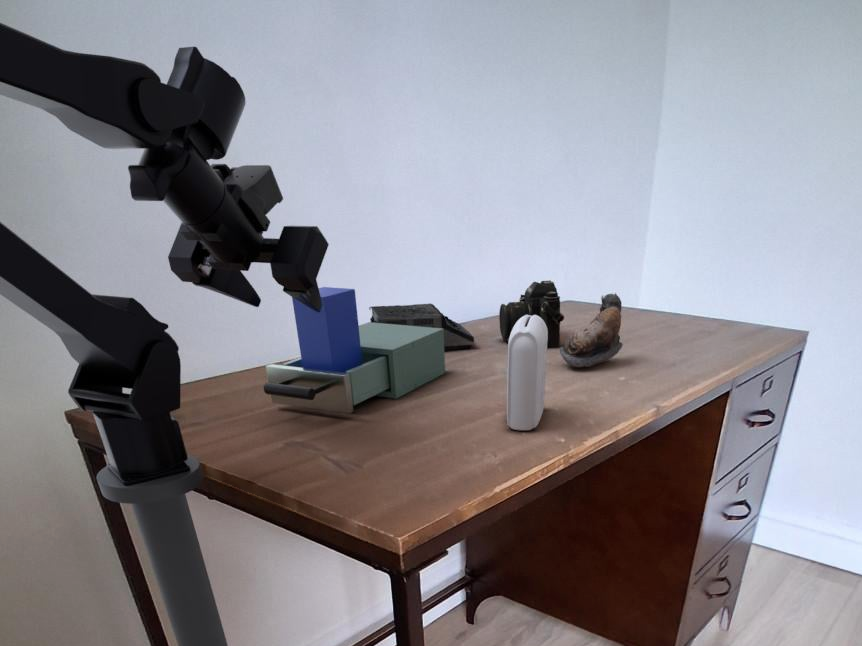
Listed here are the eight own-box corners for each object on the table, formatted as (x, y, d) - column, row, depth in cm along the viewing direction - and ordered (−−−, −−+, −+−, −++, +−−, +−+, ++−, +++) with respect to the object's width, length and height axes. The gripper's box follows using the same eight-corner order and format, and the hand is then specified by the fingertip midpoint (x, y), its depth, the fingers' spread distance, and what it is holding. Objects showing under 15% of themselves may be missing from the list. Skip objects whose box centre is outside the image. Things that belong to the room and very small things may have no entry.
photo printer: (515, 407, 92) (517, 308, 85) (546, 408, 91) (551, 309, 84) (503, 431, 84) (504, 323, 76) (537, 433, 83) (542, 324, 76)
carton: (336, 396, 90) (324, 296, 83) (306, 392, 91) (291, 294, 84) (364, 383, 95) (355, 288, 88) (335, 379, 97) (323, 286, 90)
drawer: (330, 423, 84) (324, 383, 81) (251, 411, 88) (243, 373, 85) (403, 386, 98) (401, 351, 95) (332, 377, 102) (328, 343, 99)
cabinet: (396, 398, 95) (392, 349, 92) (317, 388, 100) (311, 341, 96) (445, 373, 107) (443, 328, 103) (372, 365, 112) (368, 322, 108)
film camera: (479, 335, 131) (479, 277, 125) (534, 328, 135) (536, 273, 129) (525, 353, 118) (527, 290, 112) (583, 346, 122) (588, 285, 116)
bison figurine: (583, 374, 106) (589, 304, 100) (549, 366, 110) (553, 299, 104) (627, 361, 113) (635, 295, 107) (594, 354, 117) (599, 290, 111)
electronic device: (475, 349, 121) (475, 312, 117) (379, 355, 117) (376, 316, 113) (460, 336, 130) (459, 300, 126) (371, 340, 126) (368, 304, 123)
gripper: (303, 128, 64) (375, 250, 79) (159, 133, 70) (250, 245, 85) (265, 229, 63) (345, 335, 77) (121, 224, 69) (220, 323, 84)
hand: (289, 306), depth 81 cm, fingers open, 9 cm apart
